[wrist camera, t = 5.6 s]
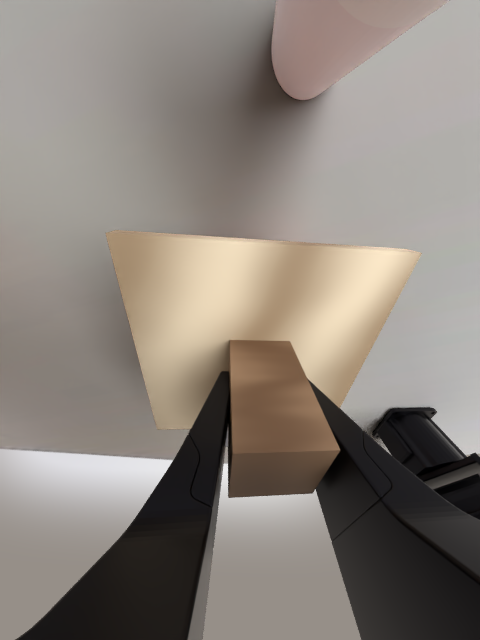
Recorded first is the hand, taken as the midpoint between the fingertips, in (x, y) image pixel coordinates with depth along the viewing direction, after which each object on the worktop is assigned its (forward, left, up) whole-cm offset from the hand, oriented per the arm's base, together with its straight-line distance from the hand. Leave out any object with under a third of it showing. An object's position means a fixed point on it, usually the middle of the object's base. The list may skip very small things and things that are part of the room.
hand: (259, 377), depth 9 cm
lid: (0, 0, -2) cm, 2 cm away
